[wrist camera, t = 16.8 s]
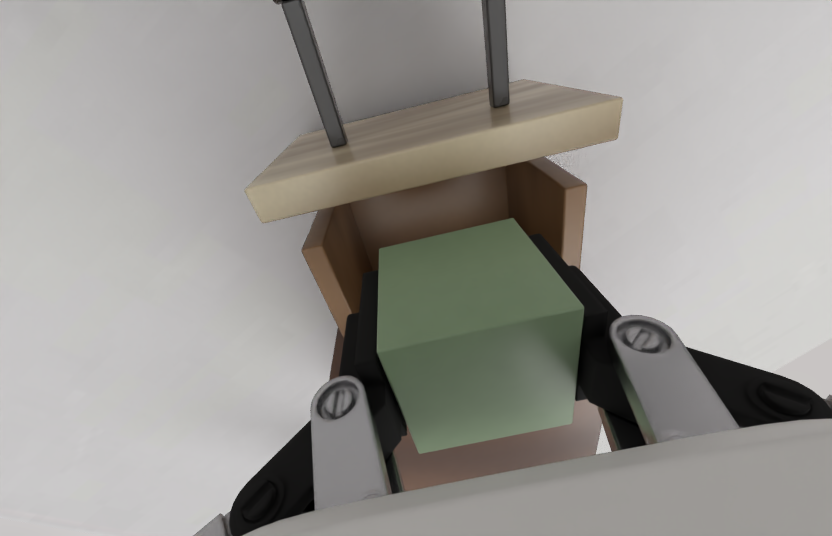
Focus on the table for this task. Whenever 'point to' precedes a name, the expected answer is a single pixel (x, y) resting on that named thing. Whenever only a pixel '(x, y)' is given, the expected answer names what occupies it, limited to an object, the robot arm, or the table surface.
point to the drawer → (431, 166)
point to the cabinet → (493, 447)
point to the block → (477, 336)
